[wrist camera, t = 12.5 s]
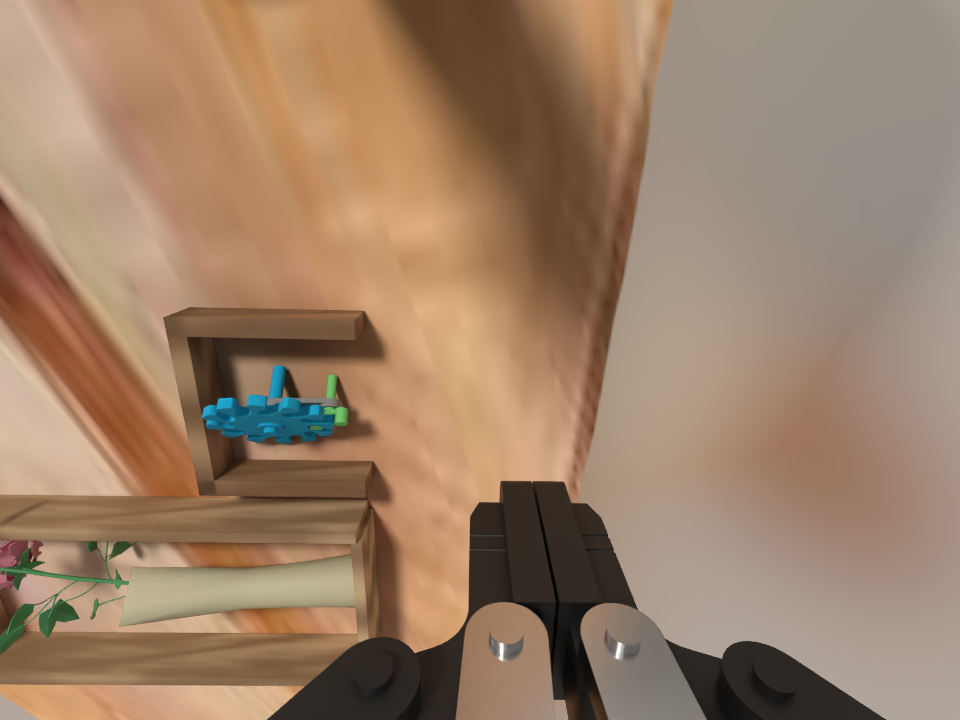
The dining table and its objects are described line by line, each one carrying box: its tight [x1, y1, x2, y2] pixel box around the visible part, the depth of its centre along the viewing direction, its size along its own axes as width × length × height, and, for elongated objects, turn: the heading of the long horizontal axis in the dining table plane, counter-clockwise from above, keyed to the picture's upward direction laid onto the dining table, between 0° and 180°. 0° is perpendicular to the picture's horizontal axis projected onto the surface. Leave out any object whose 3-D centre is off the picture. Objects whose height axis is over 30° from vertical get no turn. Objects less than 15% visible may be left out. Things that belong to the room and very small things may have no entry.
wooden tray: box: [0, 495, 381, 686], centre depth 45 cm, size 18×40×5 cm, turn 89°
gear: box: [202, 365, 348, 444], centre depth 39 cm, size 11×6×10 cm
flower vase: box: [0, 540, 355, 654], centre depth 43 cm, size 12×12×35 cm
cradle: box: [164, 307, 374, 497], centre depth 40 cm, size 16×14×4 cm
